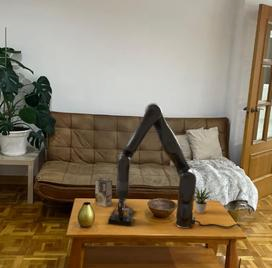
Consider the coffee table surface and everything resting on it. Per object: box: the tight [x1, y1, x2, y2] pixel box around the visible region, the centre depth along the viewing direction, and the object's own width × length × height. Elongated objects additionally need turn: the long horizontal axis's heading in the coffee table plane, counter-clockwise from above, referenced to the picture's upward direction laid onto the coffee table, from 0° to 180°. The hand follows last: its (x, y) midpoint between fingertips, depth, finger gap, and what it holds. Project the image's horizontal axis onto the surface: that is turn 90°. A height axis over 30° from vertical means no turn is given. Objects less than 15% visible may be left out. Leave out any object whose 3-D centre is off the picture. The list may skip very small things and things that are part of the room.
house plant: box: [194, 186, 212, 214], centre depth 229 cm, size 14×14×16 cm
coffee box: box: [94, 177, 113, 208], centre depth 234 cm, size 9×6×16 cm
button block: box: [112, 205, 134, 215], centre depth 223 cm, size 11×9×4 cm
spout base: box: [107, 212, 135, 227], centre depth 210 cm, size 13×12×3 cm
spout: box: [113, 206, 129, 218], centre depth 209 cm, size 8×2×5 cm, turn 84°
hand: (121, 216), depth 209 cm, fingers open, 4 cm apart
